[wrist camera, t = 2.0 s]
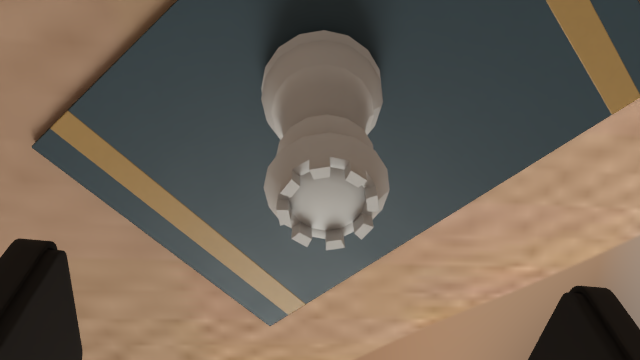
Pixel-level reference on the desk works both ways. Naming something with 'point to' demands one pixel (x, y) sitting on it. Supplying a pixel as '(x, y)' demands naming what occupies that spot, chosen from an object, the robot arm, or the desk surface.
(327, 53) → the rook chess piece
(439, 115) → the placemat
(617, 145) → the desk surface
